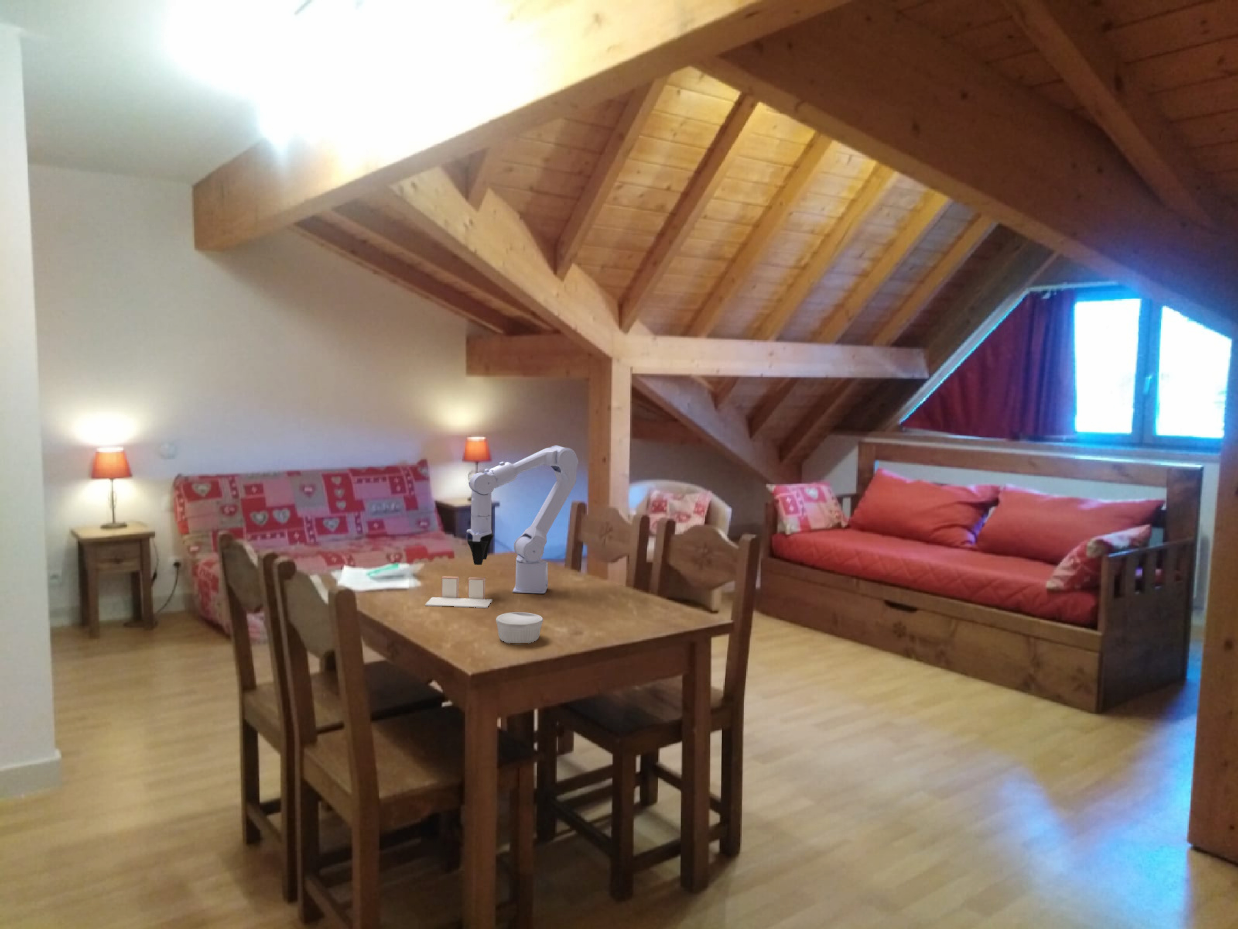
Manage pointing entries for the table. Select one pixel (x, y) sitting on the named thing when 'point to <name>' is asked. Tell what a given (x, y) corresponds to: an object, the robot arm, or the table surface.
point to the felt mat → (459, 602)
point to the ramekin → (519, 627)
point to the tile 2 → (476, 588)
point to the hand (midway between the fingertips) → (480, 561)
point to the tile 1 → (450, 587)
